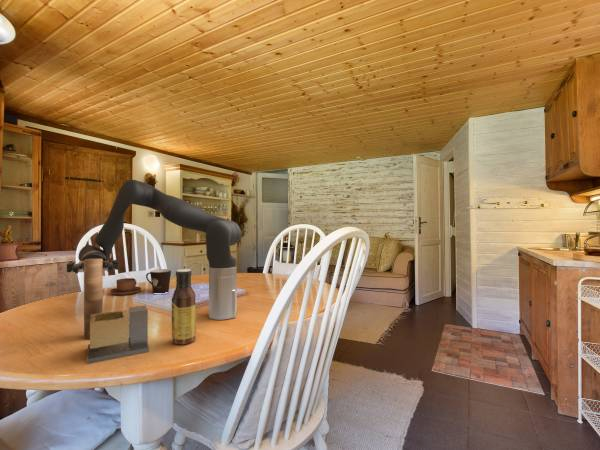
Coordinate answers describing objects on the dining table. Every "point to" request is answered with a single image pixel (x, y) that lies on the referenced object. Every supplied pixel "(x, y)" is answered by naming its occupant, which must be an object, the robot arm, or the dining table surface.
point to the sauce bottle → (183, 309)
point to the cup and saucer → (126, 287)
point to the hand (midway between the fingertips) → (93, 269)
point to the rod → (92, 291)
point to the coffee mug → (160, 280)
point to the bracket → (118, 334)
